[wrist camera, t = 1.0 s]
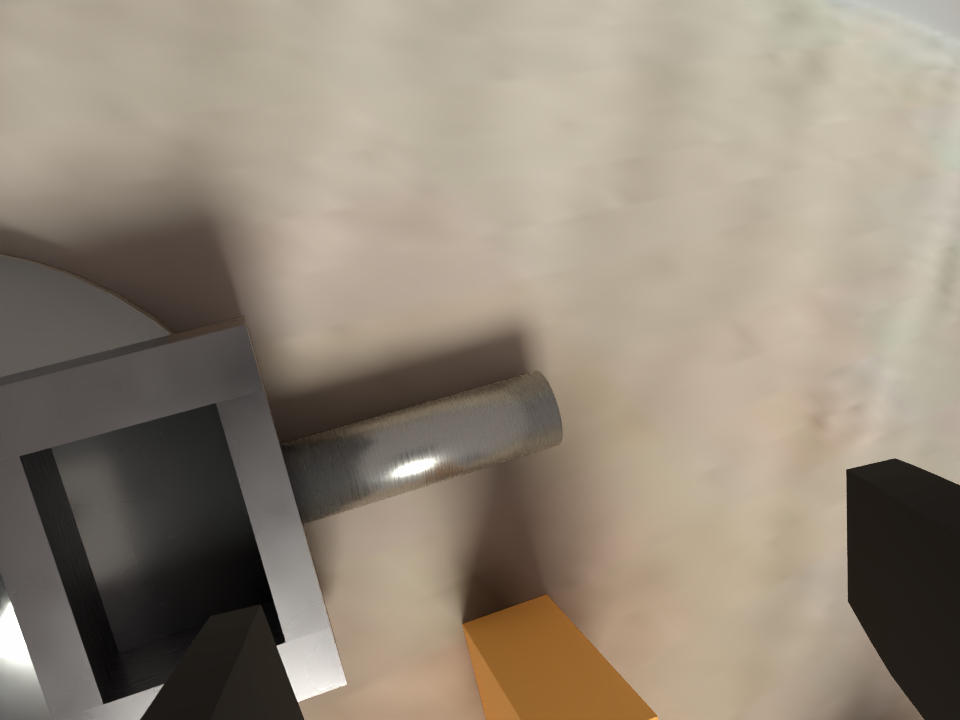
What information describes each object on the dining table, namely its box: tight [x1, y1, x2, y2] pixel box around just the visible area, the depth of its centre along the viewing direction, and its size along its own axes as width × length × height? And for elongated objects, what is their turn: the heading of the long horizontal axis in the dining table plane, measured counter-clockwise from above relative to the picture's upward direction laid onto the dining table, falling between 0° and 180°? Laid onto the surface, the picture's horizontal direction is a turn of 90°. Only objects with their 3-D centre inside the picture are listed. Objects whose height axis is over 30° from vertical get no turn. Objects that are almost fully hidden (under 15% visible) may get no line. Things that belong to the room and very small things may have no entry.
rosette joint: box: [0, 254, 562, 720], centre depth 22 cm, size 18×26×6 cm
